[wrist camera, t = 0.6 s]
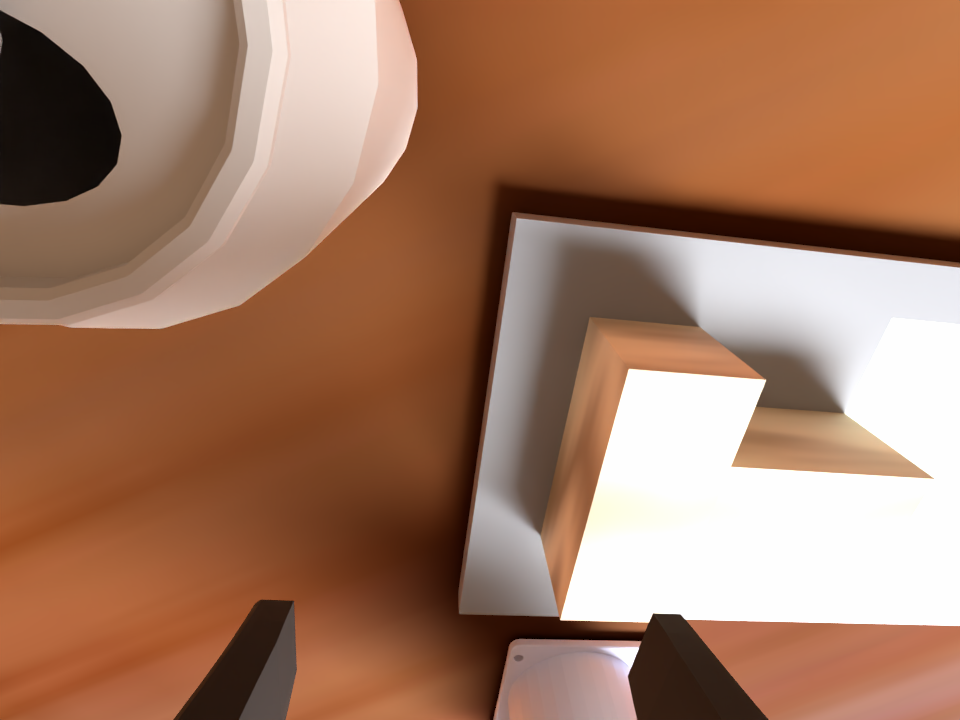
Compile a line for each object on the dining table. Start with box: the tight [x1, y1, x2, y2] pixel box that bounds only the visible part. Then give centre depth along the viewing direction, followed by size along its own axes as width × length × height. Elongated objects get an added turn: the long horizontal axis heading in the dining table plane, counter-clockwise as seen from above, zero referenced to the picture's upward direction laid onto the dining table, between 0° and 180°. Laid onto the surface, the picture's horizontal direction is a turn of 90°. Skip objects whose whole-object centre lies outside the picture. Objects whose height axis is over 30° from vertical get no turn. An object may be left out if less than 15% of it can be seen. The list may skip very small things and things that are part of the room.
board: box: [458, 212, 960, 626], centre depth 21 cm, size 18×28×1 cm, turn 84°
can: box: [0, 0, 418, 329], centre depth 9 cm, size 8×8×12 cm
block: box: [541, 317, 935, 622], centre depth 18 cm, size 10×11×4 cm
